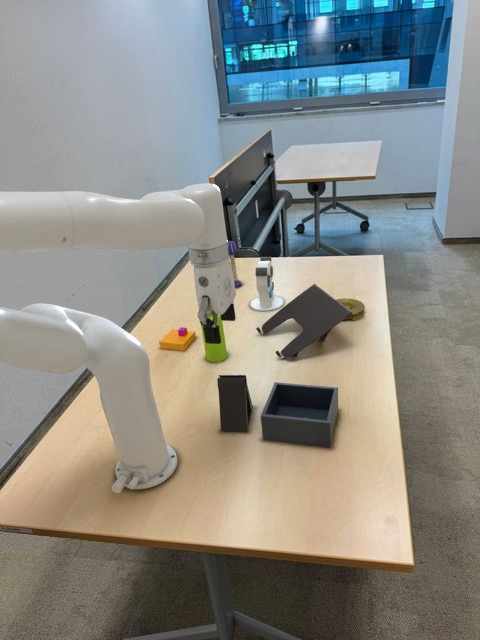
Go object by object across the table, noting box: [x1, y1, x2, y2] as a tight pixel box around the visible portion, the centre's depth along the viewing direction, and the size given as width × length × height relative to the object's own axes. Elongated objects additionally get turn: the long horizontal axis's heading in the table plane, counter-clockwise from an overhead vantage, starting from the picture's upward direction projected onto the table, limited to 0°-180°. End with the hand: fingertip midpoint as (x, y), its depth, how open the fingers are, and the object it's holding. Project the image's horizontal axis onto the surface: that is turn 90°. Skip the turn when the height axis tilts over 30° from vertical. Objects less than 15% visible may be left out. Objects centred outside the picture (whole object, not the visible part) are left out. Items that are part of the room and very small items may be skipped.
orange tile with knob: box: [158, 326, 197, 352], centre depth 143 cm, size 8×8×4 cm
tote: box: [260, 381, 339, 449], centre depth 105 cm, size 13×15×7 cm
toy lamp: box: [227, 240, 243, 289], centre depth 175 cm, size 5×5×17 cm
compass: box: [335, 297, 365, 321], centre depth 151 cm, size 12×12×2 cm
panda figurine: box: [249, 256, 284, 312], centre depth 159 cm, size 12×11×15 cm
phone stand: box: [216, 374, 254, 433], centre depth 107 cm, size 9×6×12 cm, turn 173°
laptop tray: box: [255, 283, 352, 359], centre depth 139 cm, size 23×23×9 cm
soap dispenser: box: [200, 309, 228, 363], centre depth 130 cm, size 6×7×20 cm
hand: (221, 331), depth 99 cm, fingers open, 9 cm apart
